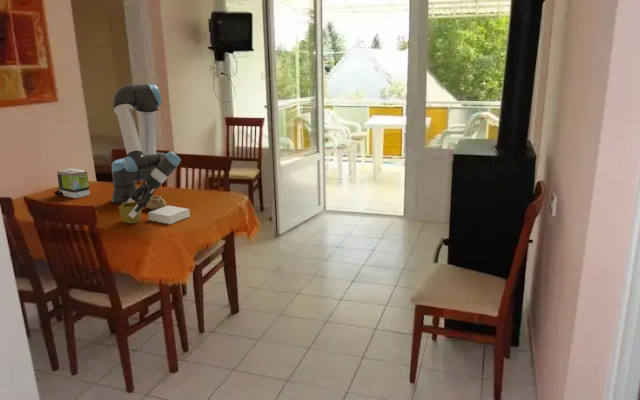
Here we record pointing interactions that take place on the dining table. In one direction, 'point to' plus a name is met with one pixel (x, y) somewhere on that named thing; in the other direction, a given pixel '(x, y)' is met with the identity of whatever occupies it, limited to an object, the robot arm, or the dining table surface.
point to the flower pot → (125, 211)
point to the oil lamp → (156, 203)
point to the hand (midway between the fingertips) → (127, 213)
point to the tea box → (73, 183)
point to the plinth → (169, 214)
